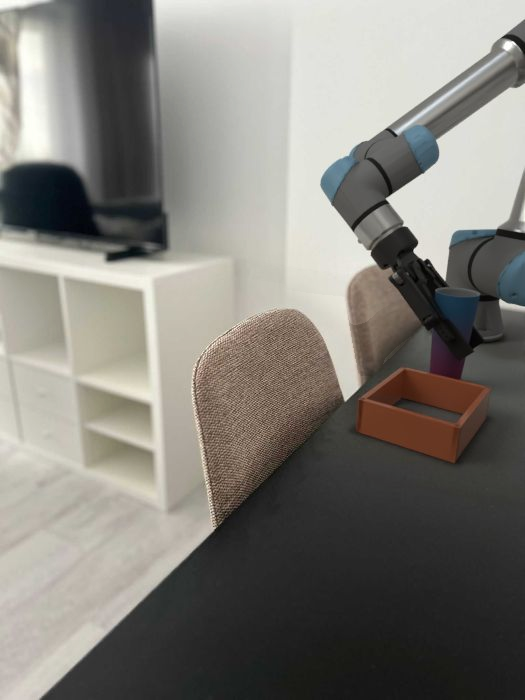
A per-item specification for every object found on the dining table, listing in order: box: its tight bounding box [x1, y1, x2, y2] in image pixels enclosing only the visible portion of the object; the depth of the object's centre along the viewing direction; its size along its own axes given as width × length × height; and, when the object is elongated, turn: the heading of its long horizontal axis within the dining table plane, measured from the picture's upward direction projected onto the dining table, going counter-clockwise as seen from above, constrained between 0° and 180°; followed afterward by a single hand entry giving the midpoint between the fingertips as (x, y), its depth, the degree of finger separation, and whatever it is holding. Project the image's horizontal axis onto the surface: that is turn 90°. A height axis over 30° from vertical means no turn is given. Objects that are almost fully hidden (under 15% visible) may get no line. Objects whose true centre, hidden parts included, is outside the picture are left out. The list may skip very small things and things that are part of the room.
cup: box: [428, 287, 480, 380], centre depth 84 cm, size 7×7×15 cm
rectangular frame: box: [355, 366, 492, 464], centre depth 73 cm, size 16×14×5 cm
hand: (472, 350), depth 83 cm, fingers closed on cup, 6 cm apart
